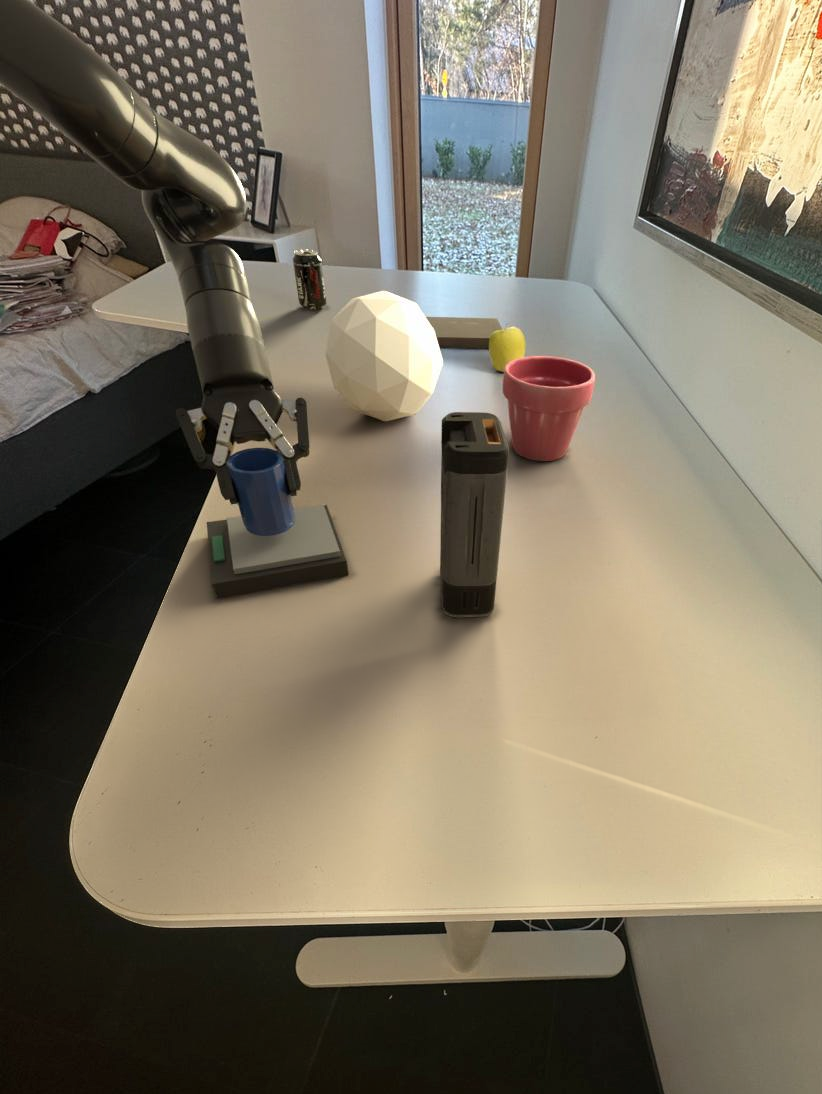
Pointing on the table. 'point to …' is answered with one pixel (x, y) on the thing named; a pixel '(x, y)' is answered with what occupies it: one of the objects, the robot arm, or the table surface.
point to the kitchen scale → (274, 554)
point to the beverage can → (309, 279)
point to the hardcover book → (464, 331)
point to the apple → (506, 347)
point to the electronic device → (471, 511)
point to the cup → (262, 491)
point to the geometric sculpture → (383, 356)
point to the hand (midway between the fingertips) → (264, 497)
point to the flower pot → (545, 403)
